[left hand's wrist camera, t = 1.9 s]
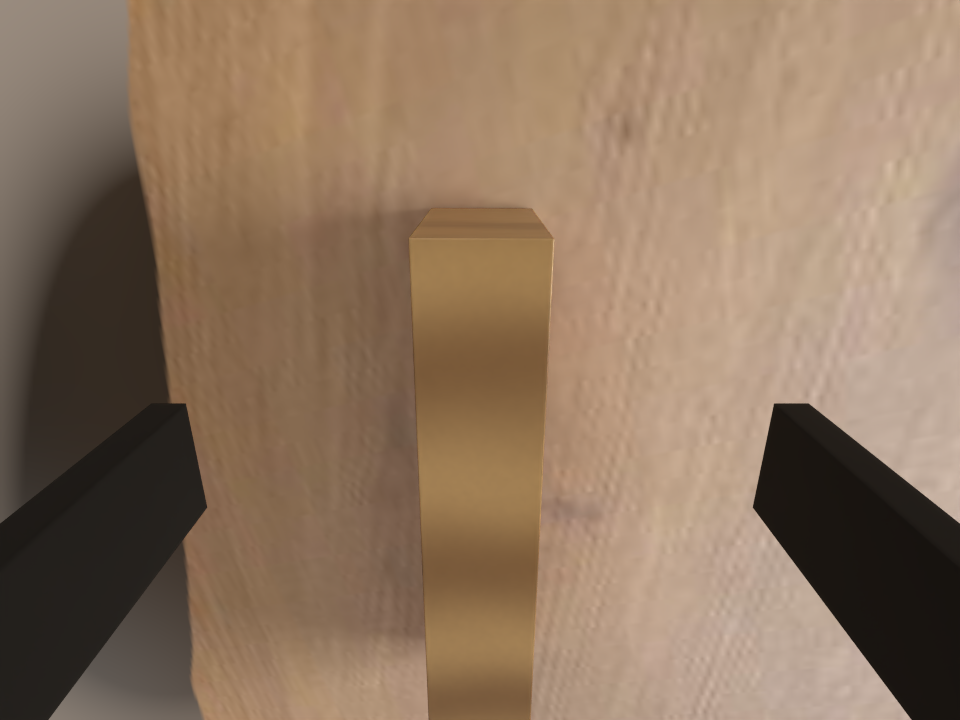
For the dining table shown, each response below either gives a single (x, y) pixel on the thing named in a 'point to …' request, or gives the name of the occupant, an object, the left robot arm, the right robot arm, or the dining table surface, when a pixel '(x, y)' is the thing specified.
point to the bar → (480, 450)
